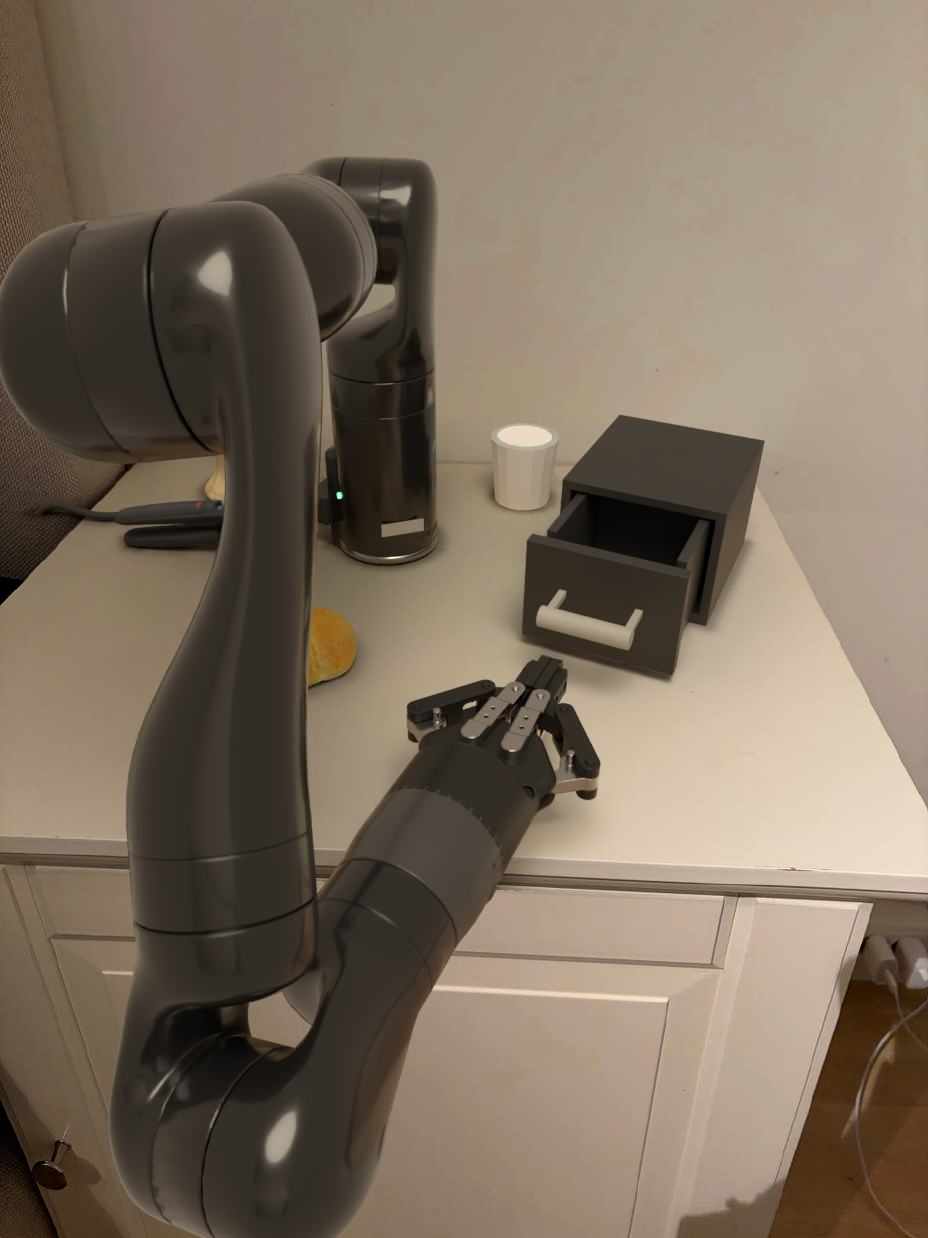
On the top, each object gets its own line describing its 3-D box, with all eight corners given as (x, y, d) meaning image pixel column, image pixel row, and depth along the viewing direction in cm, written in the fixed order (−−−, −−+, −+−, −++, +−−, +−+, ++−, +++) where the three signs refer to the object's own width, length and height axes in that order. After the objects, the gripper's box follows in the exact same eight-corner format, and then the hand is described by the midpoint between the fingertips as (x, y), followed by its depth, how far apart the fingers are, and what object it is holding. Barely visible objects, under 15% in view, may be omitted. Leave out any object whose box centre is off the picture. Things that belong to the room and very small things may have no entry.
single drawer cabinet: (706, 626, 78) (727, 513, 72) (554, 587, 83) (562, 479, 77) (743, 542, 90) (764, 440, 84) (608, 513, 94) (619, 414, 88)
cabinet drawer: (656, 710, 67) (672, 609, 62) (499, 664, 72) (503, 567, 67) (714, 584, 82) (732, 494, 77) (581, 553, 86) (589, 465, 81)
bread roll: (375, 668, 73) (373, 626, 70) (268, 708, 69) (262, 665, 66) (328, 618, 78) (324, 577, 76) (226, 651, 74) (220, 610, 72)
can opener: (313, 541, 89) (308, 488, 86) (290, 579, 83) (284, 523, 80) (140, 524, 91) (128, 472, 88) (105, 560, 86) (92, 505, 82)
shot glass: (550, 516, 93) (554, 452, 90) (483, 509, 95) (484, 445, 91) (558, 486, 99) (563, 424, 95) (494, 480, 100) (497, 419, 96)
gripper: (557, 840, 44) (656, 648, 57) (322, 757, 49) (463, 596, 62) (547, 939, 49) (642, 739, 62) (332, 854, 53) (462, 684, 66)
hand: (551, 668), depth 62 cm, fingers closed
